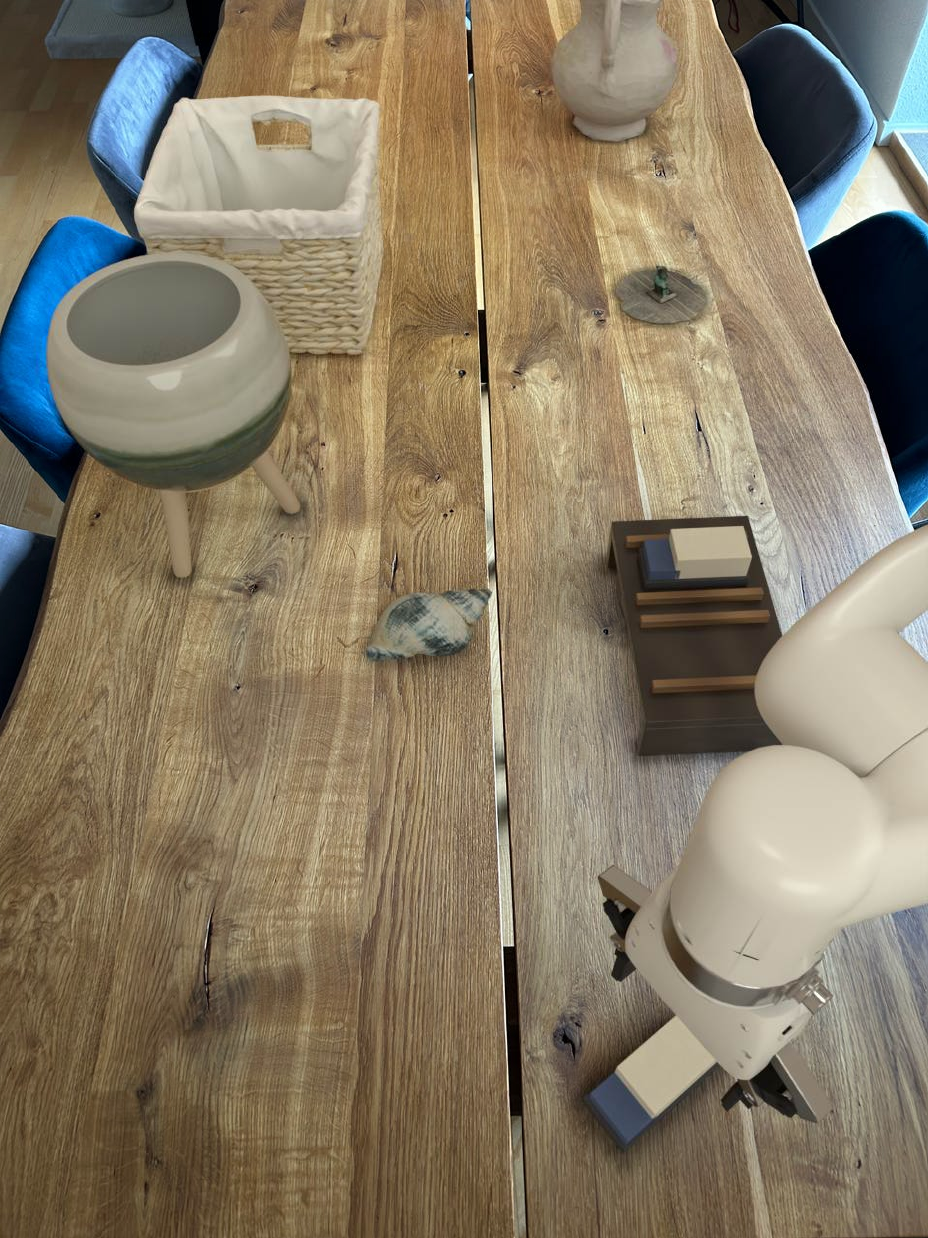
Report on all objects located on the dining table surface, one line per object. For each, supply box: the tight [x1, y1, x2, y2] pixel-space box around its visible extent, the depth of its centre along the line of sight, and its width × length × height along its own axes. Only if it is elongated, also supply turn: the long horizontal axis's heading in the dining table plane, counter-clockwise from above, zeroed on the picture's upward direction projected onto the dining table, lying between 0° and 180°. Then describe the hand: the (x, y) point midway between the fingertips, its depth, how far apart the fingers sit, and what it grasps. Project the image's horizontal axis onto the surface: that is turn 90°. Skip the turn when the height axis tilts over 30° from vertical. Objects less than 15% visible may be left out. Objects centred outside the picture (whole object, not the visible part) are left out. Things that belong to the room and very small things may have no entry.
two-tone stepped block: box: [638, 526, 752, 590], centre depth 97 cm, size 10×4×4 cm, turn 92°
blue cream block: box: [582, 1014, 721, 1155], centre depth 75 cm, size 10×4×4 cm, turn 127°
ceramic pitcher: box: [551, 0, 679, 143], centre depth 155 cm, size 22×20×25 cm
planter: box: [45, 253, 301, 579], centre depth 102 cm, size 22×22×28 cm
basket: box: [133, 94, 385, 356], centre depth 128 cm, size 27×27×22 cm
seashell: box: [364, 588, 493, 663], centre depth 100 cm, size 6×8×12 cm
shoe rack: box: [605, 515, 783, 757], centre depth 98 cm, size 14×24×7 cm, turn 2°
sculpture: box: [615, 265, 707, 325], centre depth 136 cm, size 12×9×8 cm
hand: (684, 1026), depth 64 cm, fingers open, 9 cm apart
